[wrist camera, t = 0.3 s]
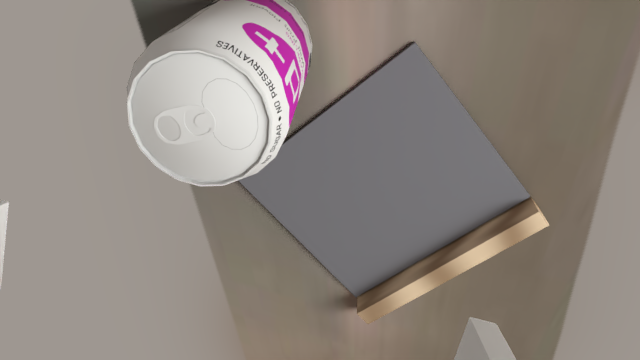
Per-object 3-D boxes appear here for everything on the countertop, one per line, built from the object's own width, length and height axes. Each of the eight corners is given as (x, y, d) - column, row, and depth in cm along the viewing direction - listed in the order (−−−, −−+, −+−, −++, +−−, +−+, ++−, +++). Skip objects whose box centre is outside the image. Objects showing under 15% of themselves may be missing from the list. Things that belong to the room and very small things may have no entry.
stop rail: (530, 195, 41) (538, 211, 39) (539, 209, 42) (549, 225, 40) (357, 295, 48) (357, 313, 46) (367, 306, 48) (367, 324, 46)
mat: (414, 41, 36) (414, 42, 36) (528, 194, 41) (530, 196, 41) (238, 177, 43) (237, 179, 42) (356, 294, 48) (355, 297, 47)
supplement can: (295, -28, 34) (253, 15, 21) (324, 86, 38) (303, 182, 25) (186, 1, 36) (84, 57, 23) (224, 108, 40) (155, 209, 27)
